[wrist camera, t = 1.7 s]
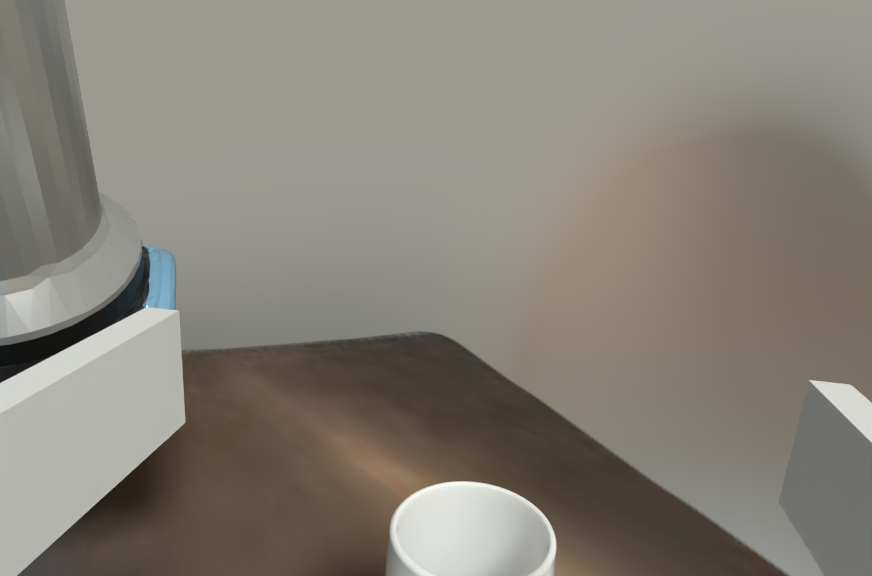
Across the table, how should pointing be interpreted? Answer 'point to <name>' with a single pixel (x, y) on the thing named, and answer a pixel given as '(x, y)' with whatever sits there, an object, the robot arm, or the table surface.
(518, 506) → the drinking glass
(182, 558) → the table surface
